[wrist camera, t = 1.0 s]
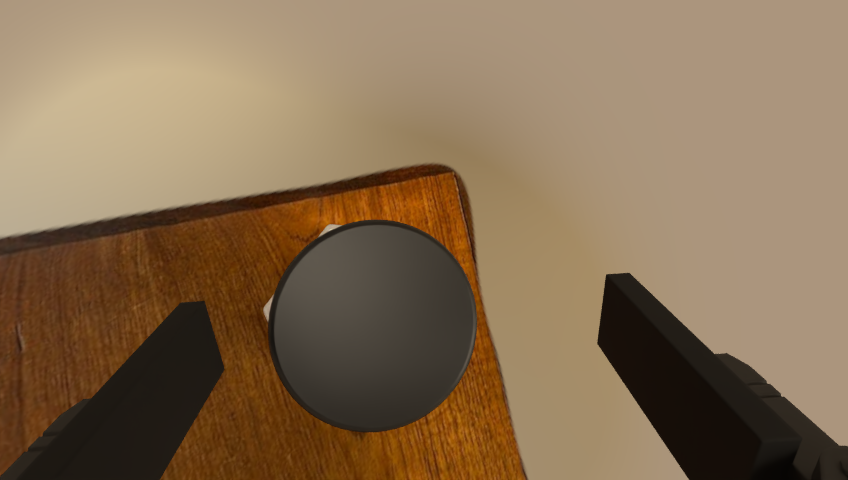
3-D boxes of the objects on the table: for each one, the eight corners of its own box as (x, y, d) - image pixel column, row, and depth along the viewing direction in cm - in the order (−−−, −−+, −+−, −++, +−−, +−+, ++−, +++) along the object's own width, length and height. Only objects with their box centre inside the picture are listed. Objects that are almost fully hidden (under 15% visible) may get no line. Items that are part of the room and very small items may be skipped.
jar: (360, 397, 27) (398, 487, 16) (253, 326, 26) (208, 367, 15) (437, 284, 29) (520, 290, 18) (341, 212, 28) (364, 168, 16)
